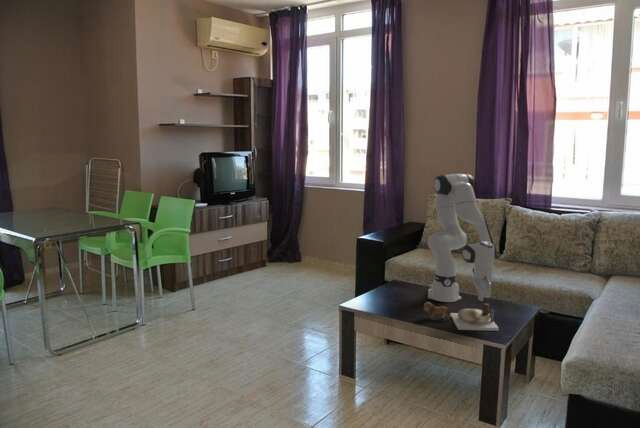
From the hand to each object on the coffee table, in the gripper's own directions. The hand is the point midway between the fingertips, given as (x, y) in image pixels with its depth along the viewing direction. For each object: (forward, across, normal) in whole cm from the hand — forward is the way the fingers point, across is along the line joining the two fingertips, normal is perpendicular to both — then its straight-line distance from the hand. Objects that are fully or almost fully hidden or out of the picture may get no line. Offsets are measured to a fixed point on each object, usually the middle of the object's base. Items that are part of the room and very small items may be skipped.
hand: (480, 300), depth 259 cm
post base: (+10, -6, +4) cm, 12 cm away
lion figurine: (+11, -2, +22) cm, 24 cm away
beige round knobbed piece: (+6, -6, +3) cm, 10 cm away
